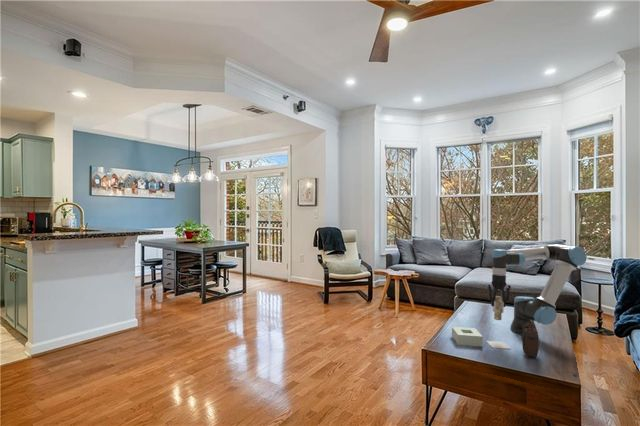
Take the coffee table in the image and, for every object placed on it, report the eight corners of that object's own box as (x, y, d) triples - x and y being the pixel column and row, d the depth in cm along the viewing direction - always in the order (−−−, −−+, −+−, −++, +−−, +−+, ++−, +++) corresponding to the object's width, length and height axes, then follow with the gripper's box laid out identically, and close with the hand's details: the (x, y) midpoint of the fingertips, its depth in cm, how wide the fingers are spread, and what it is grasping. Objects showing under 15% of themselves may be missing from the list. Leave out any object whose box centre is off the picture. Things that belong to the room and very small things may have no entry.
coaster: (503, 342, 205) (503, 341, 205) (510, 349, 195) (510, 348, 195) (486, 341, 206) (486, 340, 206) (492, 347, 196) (492, 347, 196)
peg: (499, 318, 210) (500, 296, 210) (502, 320, 206) (503, 297, 206) (493, 318, 211) (493, 295, 211) (495, 320, 207) (496, 297, 207)
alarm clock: (520, 350, 194) (521, 315, 194) (535, 353, 190) (536, 317, 190) (522, 360, 181) (523, 323, 181) (538, 363, 177) (539, 325, 177)
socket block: (474, 337, 212) (475, 328, 212) (482, 346, 198) (482, 336, 198) (451, 336, 213) (451, 326, 213) (457, 344, 200) (458, 334, 200)
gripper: (511, 273, 211) (510, 311, 211) (482, 272, 213) (481, 309, 213) (516, 276, 203) (515, 314, 204) (486, 274, 206) (485, 312, 206)
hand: (497, 311), depth 209 cm, fingers closed on peg, 4 cm apart
